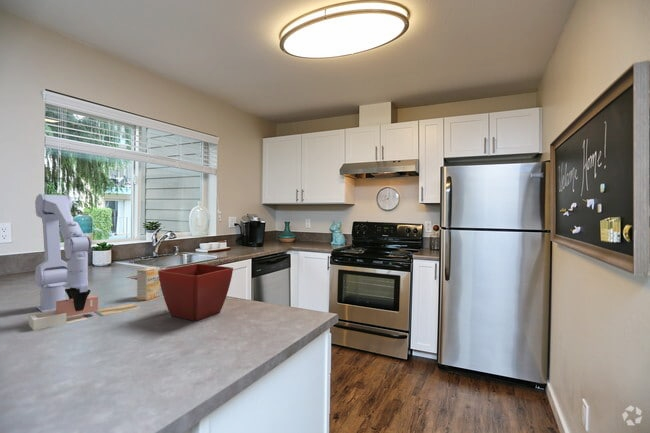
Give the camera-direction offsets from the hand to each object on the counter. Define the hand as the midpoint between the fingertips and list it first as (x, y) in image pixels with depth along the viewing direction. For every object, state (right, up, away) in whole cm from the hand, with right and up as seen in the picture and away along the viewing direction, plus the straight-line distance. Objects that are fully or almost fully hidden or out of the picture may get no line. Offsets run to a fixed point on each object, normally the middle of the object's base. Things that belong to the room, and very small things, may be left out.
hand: (77, 309), depth 112 cm
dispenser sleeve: (-2, -3, -2) cm, 4 cm away
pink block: (0, -1, 0) cm, 1 cm away
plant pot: (+40, -4, +6) cm, 40 cm away
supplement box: (+10, -3, +27) cm, 29 cm away
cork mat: (+7, -3, +10) cm, 13 cm away
